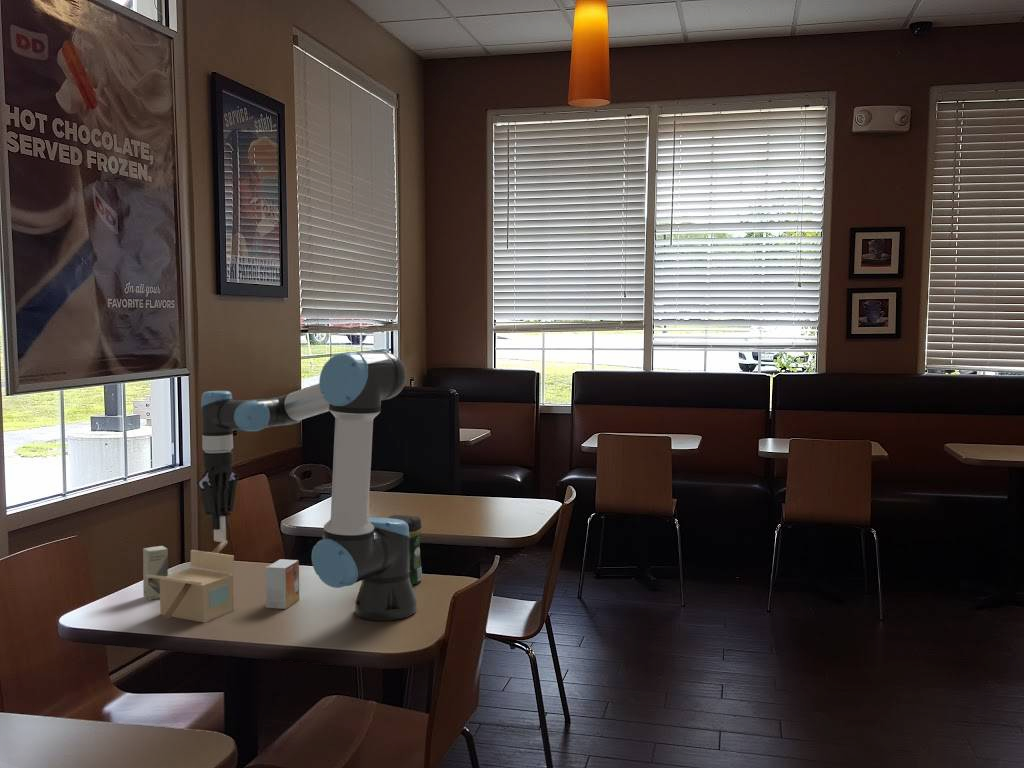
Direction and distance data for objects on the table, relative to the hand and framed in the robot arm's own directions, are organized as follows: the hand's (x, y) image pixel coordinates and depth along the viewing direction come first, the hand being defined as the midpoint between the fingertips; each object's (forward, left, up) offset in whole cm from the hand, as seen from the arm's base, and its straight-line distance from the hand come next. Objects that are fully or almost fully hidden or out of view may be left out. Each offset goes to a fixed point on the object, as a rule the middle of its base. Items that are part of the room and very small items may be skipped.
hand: (220, 540), depth 227 cm
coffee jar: (-36, -31, -15) cm, 50 cm away
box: (+16, +7, -15) cm, 23 cm away
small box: (-18, -2, -15) cm, 24 cm away
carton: (-3, +12, -15) cm, 19 cm away
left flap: (-3, +20, -4) cm, 21 cm away
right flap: (-4, +7, -3) cm, 8 cm away
